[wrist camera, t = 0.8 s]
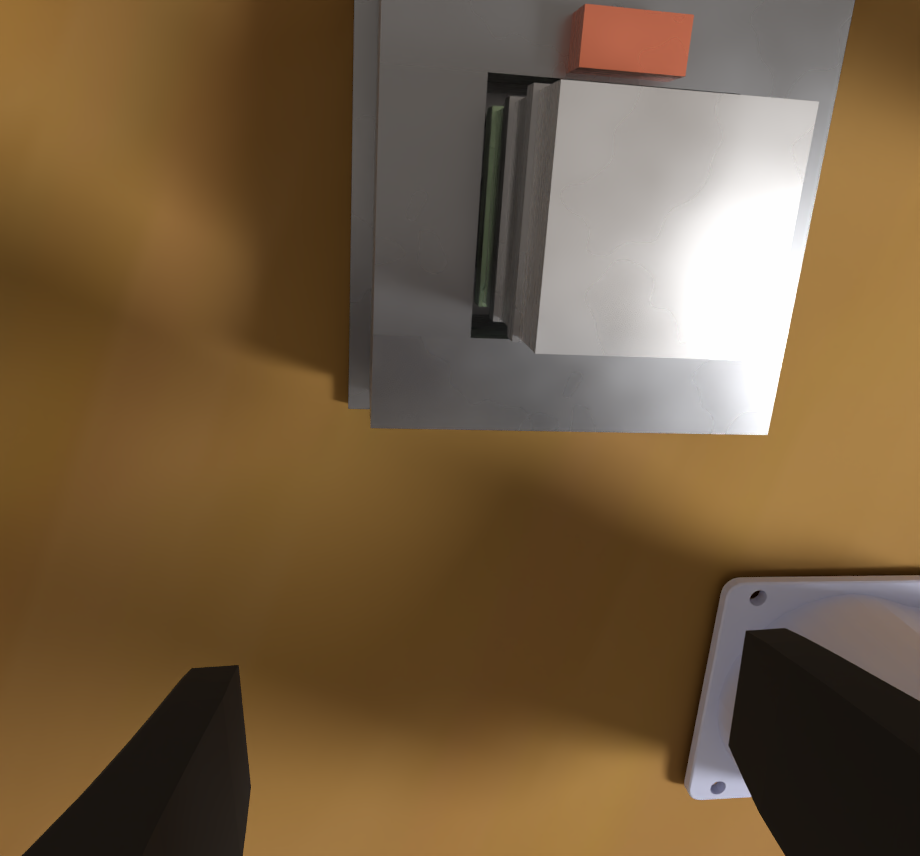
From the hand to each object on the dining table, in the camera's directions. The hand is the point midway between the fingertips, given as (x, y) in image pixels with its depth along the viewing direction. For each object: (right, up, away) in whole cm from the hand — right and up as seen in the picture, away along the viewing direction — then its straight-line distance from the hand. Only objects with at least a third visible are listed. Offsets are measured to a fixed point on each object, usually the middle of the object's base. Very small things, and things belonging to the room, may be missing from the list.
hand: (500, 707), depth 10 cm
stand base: (+2, +9, +8) cm, 12 cm away
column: (+2, +9, +7) cm, 12 cm away
